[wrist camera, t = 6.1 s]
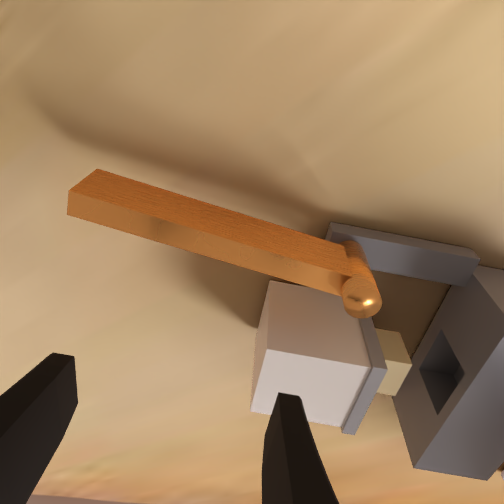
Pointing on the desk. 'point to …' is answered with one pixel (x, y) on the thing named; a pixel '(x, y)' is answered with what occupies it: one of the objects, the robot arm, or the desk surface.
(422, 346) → the socket block
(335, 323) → the plug
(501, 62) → the desk surface
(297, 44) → the desk surface
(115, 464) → the desk surface
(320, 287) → the orange long bar
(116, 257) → the desk surface
